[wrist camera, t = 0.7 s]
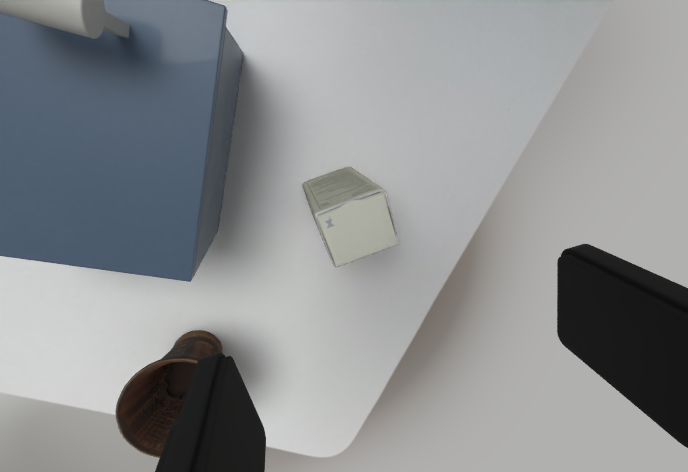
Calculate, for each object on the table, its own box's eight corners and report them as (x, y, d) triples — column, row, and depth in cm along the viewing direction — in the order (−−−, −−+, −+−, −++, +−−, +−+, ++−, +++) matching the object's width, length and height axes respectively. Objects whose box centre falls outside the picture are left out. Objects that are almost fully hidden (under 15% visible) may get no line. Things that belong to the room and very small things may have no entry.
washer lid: (-81, -88, 16) (-265, -188, 11) (228, 9, 19) (207, -30, 14) (-49, 243, 21) (-165, 289, 15) (193, 276, 24) (168, 325, 19)
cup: (241, 298, 36) (227, 364, 27) (249, 369, 39) (239, 450, 30) (149, 305, 34) (100, 377, 25) (164, 378, 37) (125, 466, 28)
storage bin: (51, -4, 25) (-78, -67, 16) (243, 52, 28) (225, 25, 19) (52, 202, 30) (-48, 242, 21) (218, 230, 33) (193, 276, 24)
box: (315, 223, 34) (330, 271, 24) (300, 182, 33) (309, 214, 22) (365, 205, 35) (401, 245, 24) (353, 163, 33) (386, 188, 23)
